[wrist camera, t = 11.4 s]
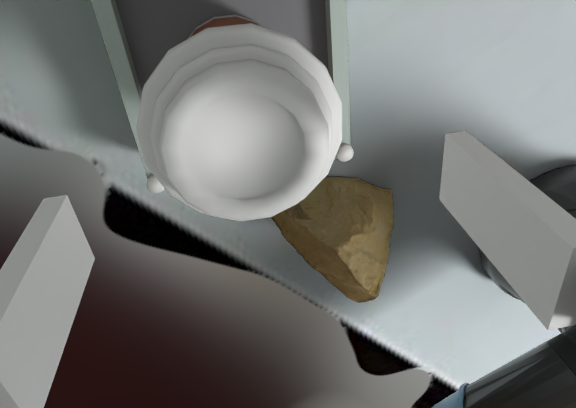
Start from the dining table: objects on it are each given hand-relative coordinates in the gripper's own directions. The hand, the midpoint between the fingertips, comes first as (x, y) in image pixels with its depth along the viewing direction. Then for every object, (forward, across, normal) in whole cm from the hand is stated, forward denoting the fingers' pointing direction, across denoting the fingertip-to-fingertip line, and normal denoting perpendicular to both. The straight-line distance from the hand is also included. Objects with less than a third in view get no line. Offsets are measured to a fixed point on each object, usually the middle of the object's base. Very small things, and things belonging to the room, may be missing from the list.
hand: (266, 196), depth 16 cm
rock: (+19, -6, +12) cm, 24 cm away
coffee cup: (+15, 0, 0) cm, 15 cm away
